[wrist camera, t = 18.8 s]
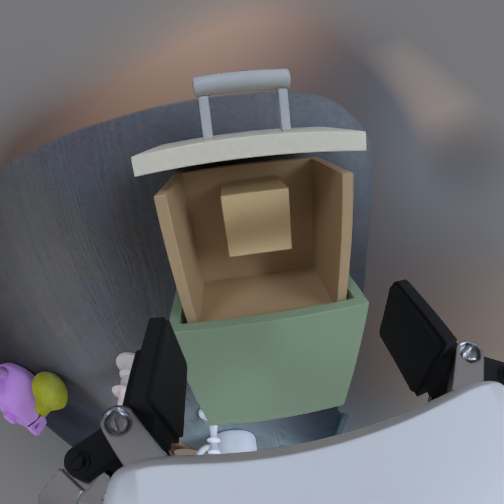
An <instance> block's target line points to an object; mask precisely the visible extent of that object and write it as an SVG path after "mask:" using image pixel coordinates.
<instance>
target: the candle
mask: <svg viewBox="0 0 504 504" xmlns="http://www.w3.org/2000/svg"><path fill="white" fill-rule="evenodd" d="M134 356H135V353H131V352H124V353H121V354H119V355H118V356H117V358H116V365H117V367H118V368H119V369H120V373H119V375H120V377H121V378H122V380H121V382H120V384H121V385H116V386H114V387H113V388H112V392H113V394H114V395H115V396H116V397H118V403H117V405H122V404H123V400H124V396H125V391H126V387H127V383H128V379H129V375H130V371H131V367H132V363H133V360H134Z"/></svg>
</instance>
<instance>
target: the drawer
mask: <svg viewBox="0 0 504 504" xmlns="http://www.w3.org/2000/svg"><path fill="white" fill-rule="evenodd" d="M289 87H290V73H289V71H288V69H268V70H251V71H239V72H230V73H222V74H214V75H207V76H201V77H195V78H193V90H194V95H195V97H198V101H199V109H200V117H201V124H202V132H203V137H202V138H196V139H190V140H184V141H179V142H174V143H169V144H164V145H160V146H157V147H155V148H152V149H150V150H147V151H145V152H142V153H140V154H137V155H135V156H132V157H131V161H132V166H133V171H134V176H135V177H137V176H142V175H146V174H151V173H156V172H161V171H166V170H171V169H176V168H182V167H188V166H194V165H200V164H206V163H213V162H220V161H227V160H235V159H243V158H251V157H261V156H271V155H282V154H295V153H311V152H332V151H366V132H364V131H357V130H349V129H340V128H330V127H299V128H291V125H290V114H289V103H288V94H287V89H288V88H289ZM265 89H266V90H268V89H277V100H278V110H279V120H280V129H268V130H256V131H247V132H238V133H230V134H222V135H215V136H213V132H212V124H211V116H210V108H209V100H208V96H210V95H217V94H224V93H233V92H242V91H253V90H265ZM275 175H276V176H277V177H278V178H279V179H280V180H281V181H282V182H283V183H284V184H285V185H286V186H287V187H288V189H289V202H290V220H291V241H292V249H287V250H280V251H272V252H265V253H257V254H250V255H243V256H235V257H230V256H229V251H228V245H227V238H226V232H225V225H224V219H223V212H222V205H221V199H220V194H221V182H225V181H233V180H240V179H248V178H257V177H266V176H275ZM154 201H155V206H156V211H157V215H158V219H159V223H160V228H161V232H162V236H163V240H164V244H165V248H166V251H167V255H168V259H169V263H170V266H171V270H172V274H173V277H174V281H175V284H176V287H177V291H178V294H179V297H180V301H181V304H182V307H183V310H184V313H185V317H186V320H187V323H196V322H206V321H215V320H223V319H231V318H239V317H247V316H254V315H261V314H268V313H275V312H281V311H287V310H293V309H299V308H305V307H311V306H317V305H322V304H327V303H333V302H338V301H343V300H346V296H347V287H348V277H349V266H350V253H351V238H352V218H353V173H352V172H350V171H347V170H345V169H343V168H341V167H339V166H336V165H334V164H332V163H330V162H327V161H325V160H323V159H320V158H318V157H304V158H290V159H279V160H268V161H258V162H249V163H241V164H233V165H225V166H218V167H211V168H205V169H198V170H192V171H186V172H181V173H175V174H174V175H173V176H172V177H171V178H170V179H169V181H168V182H167V183H166V184H165V185H164V186H163V187H162V188H161V189H160V190H159V191H158V193H157V194H156V195H155V196H154Z"/></svg>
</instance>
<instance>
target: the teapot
mask: <svg viewBox="0 0 504 504" xmlns="http://www.w3.org/2000/svg"><path fill="white" fill-rule="evenodd" d="M34 377H35V376H34V375H33V374H32V373H31V372H30V371H28V370H27V369H25V368H23V367H21V366H19V365H16V364H13V363H4V364H1V365H0V410H1V411H2V412H3V413H4V415H3V416H4V418H5V419H6V420H7V421H9V422H10V423H12V424H15V422H17V423H19V424H21V425H23V426H26V427H27V428H28V429H29V431H30V432H31V433H32V434H34V435H37V436H38V435H39V434H40V433H41V431H42V429H43V428H44V426H45V425H46V423H47V422H46V419H45V417H46V416H45V417H41V416H40V418H39V419H38V420H37V418H38V416H39V415H38V414H37V413H36V411H35V398H34V396H33V392H32V386H31V385H32V381H33V379H34ZM36 420H37V421H36ZM34 421H36V422H35V423H34V424H33V425H31V426H30V427H28V425H30V424H31V423H32V422H34Z"/></svg>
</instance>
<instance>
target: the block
mask: <svg viewBox="0 0 504 504" xmlns="http://www.w3.org/2000/svg"><path fill="white" fill-rule="evenodd" d="M220 199H221V205H222V212H223V219H224V225H225V232H226V238H227V245H228V251H229V256H230V257H235V256H243V255H250V254H257V253H265V252H272V251H280V250H287V249H292V241H291V220H290V202H289V189H288V187H287V186H286V185H285V184H284V183H283V182H282V181H281V180H280V179H279V178H278V177H277V176H276V175H275V176H266V177H257V178H248V179H240V180H233V181H225V182H221V194H220Z"/></svg>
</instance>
